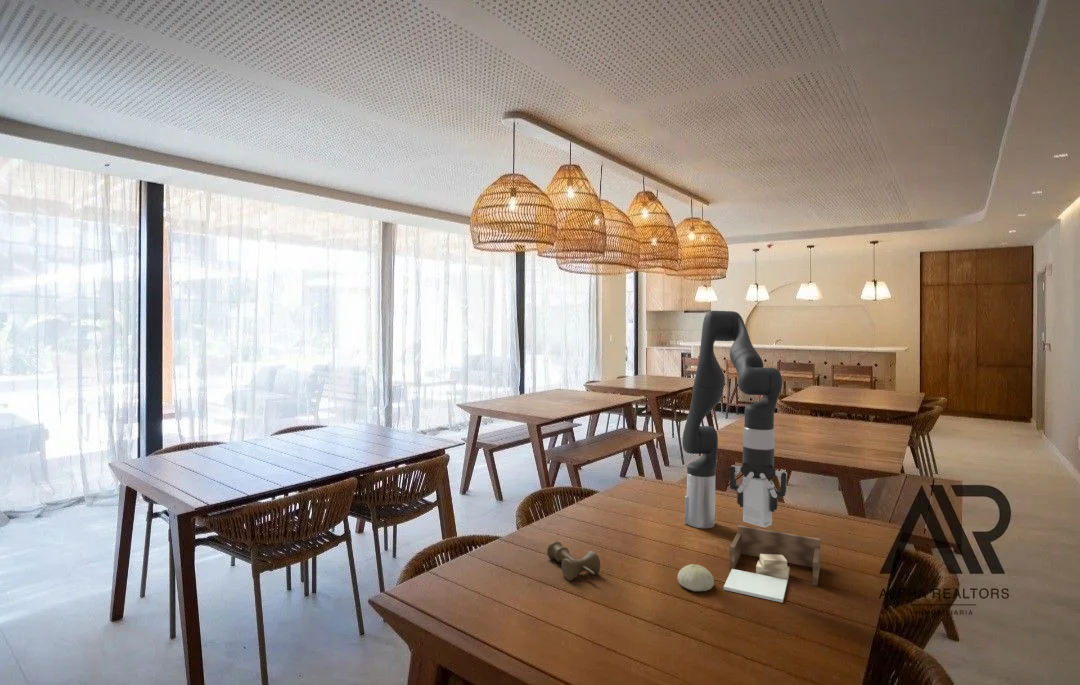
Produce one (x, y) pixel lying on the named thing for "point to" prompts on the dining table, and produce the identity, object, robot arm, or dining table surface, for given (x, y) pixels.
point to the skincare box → (757, 503)
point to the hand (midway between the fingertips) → (757, 508)
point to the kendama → (573, 561)
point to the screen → (777, 547)
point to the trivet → (756, 585)
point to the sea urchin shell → (695, 578)
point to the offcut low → (772, 572)
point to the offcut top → (773, 562)
